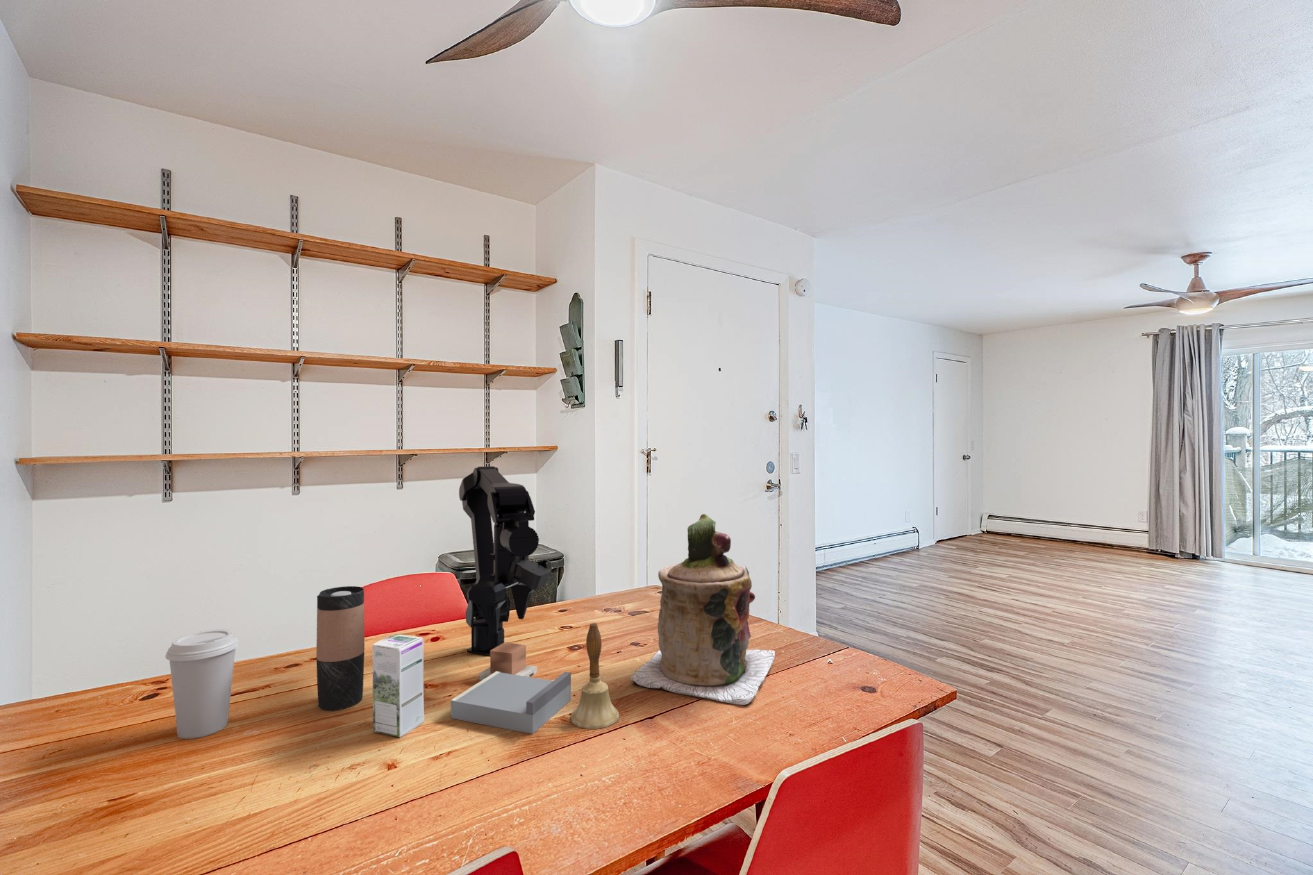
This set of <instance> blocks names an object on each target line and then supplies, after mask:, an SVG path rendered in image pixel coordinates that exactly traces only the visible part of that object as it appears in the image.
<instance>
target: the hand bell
mask: <svg viewBox="0 0 1313 875" xmlns="http://www.w3.org/2000/svg"><path fill="white" fill-rule="evenodd" d="M585 643H586V652H587V655H588V659H589V681H588V682H585V683H584V684H583V685H582V687H581V695H580V700H579V703H578V705H577V706H576V708H575V709H574V710H573V711H572V713H571V714H570V721H571V724H573V725H574V726H575V727H578V728H580V729H586V730H599V729H605V728H608V727H610V726H613V725H614V724H616V723H617V722H618V721H619V719H620V712H619V711H618V710H619V709H617V708H616V706H614V705H613V704H612V701H611V698H610V694H609V692H610V691H609V686H608V684H607V683H606V682H604V681H601V677H600V676H601V675H600V663H599V662H600V656H601V652H602V636H601V632H600V630H599V626H598V624H597V623H595V622H594V623H593V622H592V623H589V627H588V632H587V635H586V642H585Z"/></svg>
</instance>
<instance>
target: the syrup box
mask: <svg viewBox="0 0 1313 875" xmlns="http://www.w3.org/2000/svg"><path fill="white" fill-rule="evenodd" d="M424 697H425V696H424V638H423V637H421V636H415V635H414V636H413V635H408V634H407V635H406V634H399V633H396V634H392V635H389V636H387V637H384V638H383V639H380V640H379V641H377V642H375V643H372V728H373V729H372V731H373V732H374V733H376V734H377V733H378V734H383V735H387V736H393V737H398V738H401V737H403V736H405V735H406V734H409V733H410V732H411V731H413V730H415V729H416V728H417V727H420V725H422V724H423V723H424V722H425V714H424V713H425V712H424V710H425V709H424V706H425V705H424V703H425V702H424Z"/></svg>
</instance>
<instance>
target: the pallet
mask: <svg viewBox="0 0 1313 875" xmlns="http://www.w3.org/2000/svg"><path fill="white" fill-rule="evenodd" d="M526 650H527V645H526V644H521V643H520V644H519V643H513V642H506V641H504V643H503V644H501V645H499V646H497V647H496V648H494V649H492V650H490V655H489V656H490V657H489V658H490V661H489V662H490V663H489V664H490V666H489V667H487V668H486V669H485V670H483V671H481V672H479V673H478V680H479V681H482V680H483V679H485V678H487V677H488V676H490V675H491V674H493V673H494V672H496V671H497V672H500V673H507V674H513V675H520V676H526V677H530V676H534V675H536V674H537V673H538V666H537V665H536V666H534V665H530V664H529V665H527V651H526Z"/></svg>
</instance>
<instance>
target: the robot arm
mask: <svg viewBox="0 0 1313 875" xmlns="http://www.w3.org/2000/svg"><path fill="white" fill-rule="evenodd" d="M458 490H459V491H458V495H459V500H460V501H461V503H462V510H463V511H464V512H465V514H466V515H467V516H468V517H469V518H470V521H471V522H470V523H471V531H472V532H471V534H472V544H473V545H472V546H473V554H474V556H473V557H474V566H475V575H476V576H475V578H476V580H475V582H474V583H473V584H471V585H470V586H469V587H468V589H467V600H468V604H467V607H466V610H465V623H466V624H467V625H468V627H469V629H470V628H471V629H470V630H471V632H470V633H471V634H470V635H471V636H470V637H471V640H470V642H471V647H469V648H468V649H466V652H467V653H472V654H478V655H484V656H490V650H492V649H494V648H496V647H497V646H499V645H501V644H503V643H505V628H504V626H503V625H504V623H509V619H510V612H511V605H512V604H511V603H512V600H511V599H510V596H509V595H508V593H507V590H508V589H509V588H510V589H511V593H512V594H511V595H512V599H513V602H514V607H515V612H516V615H517V618H518V620H523V619H524V618H525V616H526V612H527V609H528V606H529V603H530V599H531V597H532V594H533V592H534V591H537V590H539V589H540V588H542V587H546V585H547V582H548V579H549V578H550V577H552V576H553V573H552V562H551V560H550V559H548V558H543V559H541V560H539V561H538V562H537V561H531V560H530V559H529V556H530V555H532V554H533V553H535V552H536V550H537V548H538V546H539V543H540V538H539V535H538V533H537V531H536V530H535V529H534V528H533V527H530V525H529V524H530V522H532V521H535V514H536V511H535V507H534V504H533V500H532V498H531V496H530V493H529V491H528V490H527V489H526V487H525V486H524V485H522V484H519V483H513V482H510V481H508V480H507V479H506V478H505V477H504V476H503V475H502V474H501V473H500V472H499V468H498V467H496V466H493V465H491V466H487V465H485V466H484V465H483V466H477V467H474V468H473V471H472V472H471V473H470V474H469V475H467V476H465V477H463V478H462V480H461V483H460V484H459V489H458ZM529 521H530V522H529ZM493 523H494V524H493Z"/></svg>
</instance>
